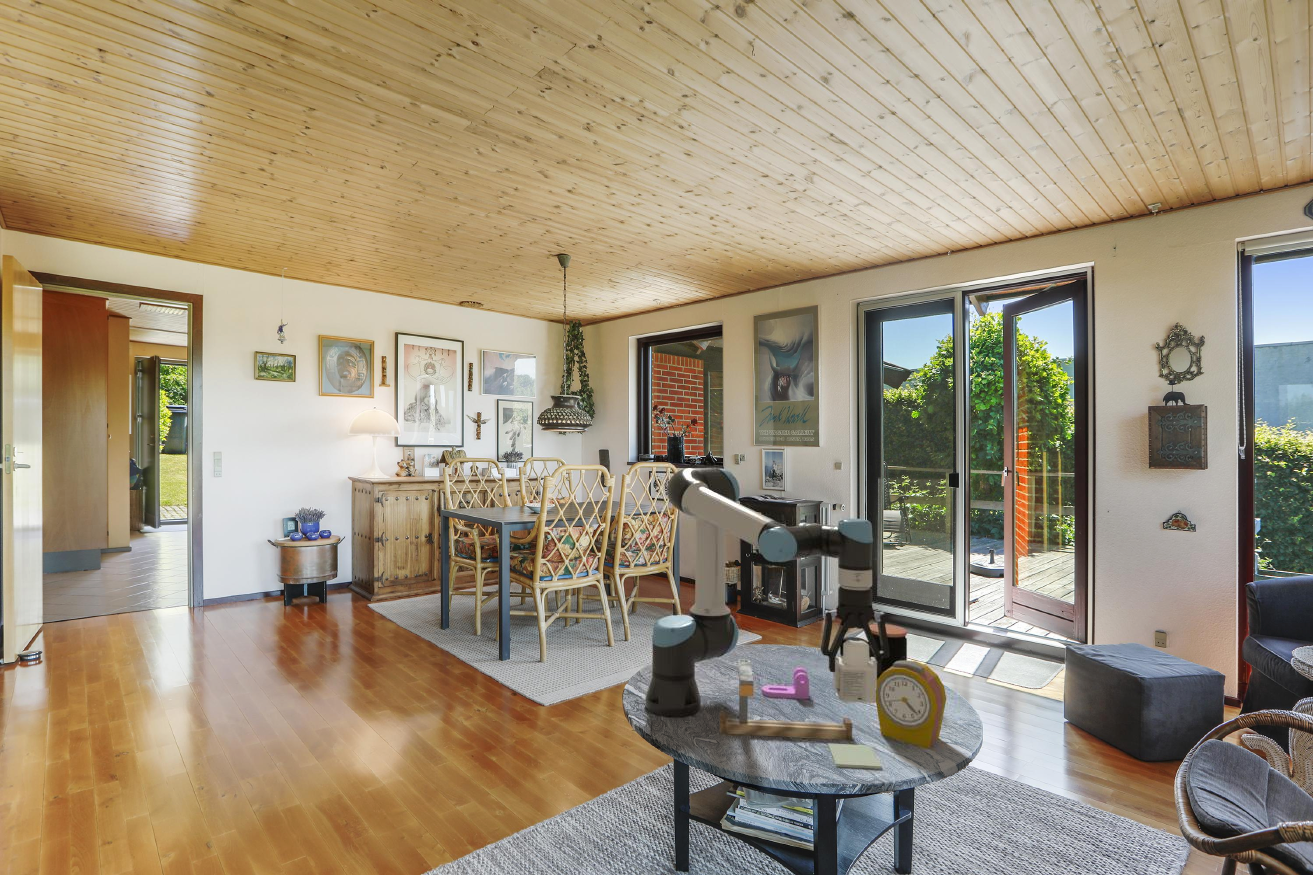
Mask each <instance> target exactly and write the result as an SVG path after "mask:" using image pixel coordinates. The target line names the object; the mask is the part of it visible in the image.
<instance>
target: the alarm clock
mask: <svg viewBox="0 0 1313 875" xmlns="http://www.w3.org/2000/svg"><path fill="white" fill-rule="evenodd" d="M938 675H939V674H937V673H936V672H935V671H934V670H932V669H931V668H930V667H929V666H927V665H926V664H923V663H921V662H919V661H916V660H907V661H896V662H895V663H894V664H893V666H892V667H891V668H889V669H888V670H886V671H885V672H883V673H882V675H881V676H880V677H879V678H878V680H877V690H876V703H875V704H876V705H875V706H876V710H877V716H878V722H879V729H880V735H881V736H886V737H888V738H891V739H895V740H898V741H899V740H900V741H902V742H905V743H908V744H912V745H914V746H915V745H916V746H918V745H919V746H918V747H923V748H925V747H926V749H928V748H929V749H930V748H931V747H932V746H933V745H934V744H935V743H936V742H937V741H938V740H939V738H940V733H941V728H942V723H943V717H944V713H945V708H946V703H947V702H946V701H947V695H946V694H947V693H946V689H945V685H944V683H943V682H942V680H941V678H940V677H939V676H938ZM936 740H937V741H936ZM935 741H936V742H935ZM934 742H935V743H934ZM933 743H934V744H933Z"/></svg>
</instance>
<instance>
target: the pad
mask: <svg viewBox="0 0 1313 875" xmlns="http://www.w3.org/2000/svg"><path fill="white" fill-rule="evenodd" d="M827 747H828V749H829V752H830V755H831V758H832V760H833V762H834V765H835V768H836V767H837V768H851V769H852V768H856V769H875V770H883V765H882V763H881V761H880V759H879V757H878V756H877V754H876V753H875V752H876V751H875V750H874V749H873V746H872V745H869V744H868V745H865V744H849V743H848V744H845V743H844V744H843V743H827Z"/></svg>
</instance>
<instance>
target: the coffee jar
mask: <svg viewBox="0 0 1313 875" xmlns="http://www.w3.org/2000/svg"><path fill="white" fill-rule="evenodd" d="M885 626H886V633H887V639H888V645H889V651H890V657H889V658H883V660H882V661H881V674H877V680H878V678H879V677H880V676H881V675H882V673H883V672H885V671H886V670H888V669H889V668H891V667H892V666H893V664H894V663H895V662H896V661H908V654H907V653H908V639H907V637H906V636H907V634H908V630H907V629H905V628H903V627H901V626H898V625H894V624H886V623H885ZM869 627H870V629H871V632H872V635H873V637H874V640H875V642H876V644H877V647H878V649H879V651H882V650H881V644H880V637H879V631H878V625H877V623H876V624H872V625H869ZM871 657H874V654H873V652H872V649H871V647H870V662H871Z"/></svg>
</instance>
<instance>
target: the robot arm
mask: <svg viewBox="0 0 1313 875" xmlns="http://www.w3.org/2000/svg"><path fill="white" fill-rule="evenodd" d="M666 493H667V498H668V501H669V502H670V504H671V505H672V506H673V507H674V508H675V509H677V510H678V511H679V512H681V513H683V514H686V515H687V516H690V517H692V518H693V519H694V520H695V585H694V586H695V589H694V590H695V591H694V592H695V596H694V597H695V598H694V599H695V600H694V601H695V603H694V604H693V605H692V606H691V607H690V608H689V615H688V614H687V615H686V614H677V615H674V614H672V615H667V616H663V617H662V618H659V619H658V620H656V622H655V623H654V625H653V627H652V628H653V629H652V635H651V642H652V643H651V644H652V648H651V649H652V659H651V660H652V666H651V667H652V672H651V673H652V674H651V679H650V682H649V685H648V688H647V691H646V695H645V699H644V701H645V703H644V704H645V708H646V710H648V711H649V712H651V713H653V714H655V715H658V716H663V717H686V716H690V715H694V714H696V713H697V712H699V711H700V709H701V706H702V702H701V701H702V700H701V699H702V697H701V694H700V691H699V688H698V685H697V681H696V678H695V673H696V670H695V669H696V668H695V666H696V665H695V664H696V663H699V662H703V661H706V660H710V659H711V660H712V659H715V658H721V657H723V656H724V655H727V654H729V653H730V652H732V651H733V650H734V649H735V648H736V646H737V644H738V640H739V626H738V624H737V623H736V619H735V617H734V616H733V615H731V609H730V608H729V607H728V606H727V605H726V556H727V555H726V550H727V549H726V546H727V542H726V541H727V540H726V539H727V538H726V536H727V534H726V533H730V534H732V535H733V536H735V537H737V538H739V539H741V540H742V541H745V542H746V543H748V544H750V545H752V546H755V547H757V548H758V549H759V552H760V553H761V555H762V556H763V558H764V559H765V560H766V561H769V562H771V563H772V562H773V563H776V562H777V563H785V562H788V561H794V560H800V559H806V558H812V557H813V558H815V557H827V558H834V559H837V560H838V561H837V562H838V563H837V564H838V570H837V571H838V572H837V573H838V575H837V584H839V587H837V591H838V592H837V606H836V608H835V609H832V610H828V609H825V610H824V611H823V614H824V619H825V621H824V627H823V632H822V638H821V645H820V652H821V653H822V655H823V656H826V657H828V669H829V671H830V673H833V676H832V677H833V678H832V679H833V680H832V681H833V683H832V684H833V686H834V689H835V688H839V659H838V657H839V656H838V652H839V650H840V646H841V643H842V641H843V639H844V638H845V636H846V634H847V632H848V631H849V629H862V630H863V632H864V634H865V638H866V641H868V642H869V643H870V647H871V649H872V652H873V654H874V657H871V663H872V665H873V666H874V668H875V669H876V690H877V674H881V661H882V660H883V658H889V657H890V651H889V645H888V639H887V633H886V626H885V624H886V623H887V618H888V617H887V614H886V613H884V612H883V611H876V610H874V608H873V590H872V588H871V587H872V586H873V542H874V537H873V525H872V523H871V521H869V520H868V519H864V518H863V519H862V518H841V519H839V520H838V524H837V525H829V524H821V523H820V524H819V523H816V522H801V523H799V524H798V525H796V526H787V525H784V524H782V523H780V522H778V521H776V520H774V519H773V518H770V517H768V516H766V515H763V514H762V513H759V512H757V511H755V510H753V509H751V508H750V507H746V506H745V505H743V504H741V503H738V501H739V499H740V495H741V492H740V486H739V482H738V480H737V478H736V476H734V474H733V473H732V472H731V471H729V470H728V469H725V468H720V467H717V468H716V467H706V468H705V467H702V468H701V467H699V468H691V467H690V468H689V467H687V468H684V469H681V470H678V471H677V472H676V473H674V474H673V475H672V476H671V477H670V479H669V481H668V484H667V488H666ZM836 616H837V617H838V618H839V620H841V621H840V623H839V626H838V627H839V628H838V629H837V632H836V634H835V636H834V639H833V641H832V642H831V635H832V629H833V621H835V620H836ZM873 618H874V619H875V621H876V624H877V625H878V631H879V637H880V644H881V650H882V651H879V649H878V647H877V644H876V642H875V640H874V637H873V635H872V632H871V629H870V627H869V626H870V625H869V623H870V622H871V621H872V619H873ZM830 642H831V645H830ZM829 647H830V648H829Z"/></svg>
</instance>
